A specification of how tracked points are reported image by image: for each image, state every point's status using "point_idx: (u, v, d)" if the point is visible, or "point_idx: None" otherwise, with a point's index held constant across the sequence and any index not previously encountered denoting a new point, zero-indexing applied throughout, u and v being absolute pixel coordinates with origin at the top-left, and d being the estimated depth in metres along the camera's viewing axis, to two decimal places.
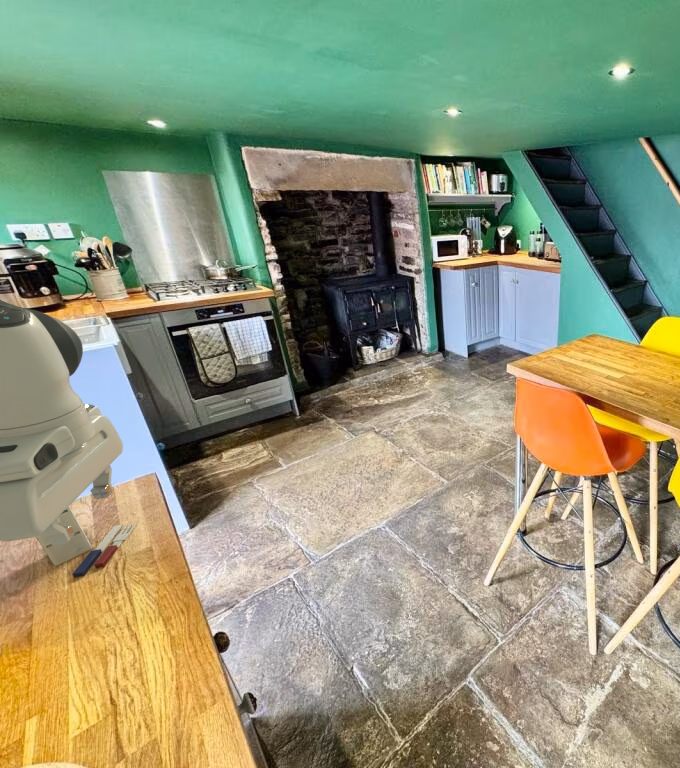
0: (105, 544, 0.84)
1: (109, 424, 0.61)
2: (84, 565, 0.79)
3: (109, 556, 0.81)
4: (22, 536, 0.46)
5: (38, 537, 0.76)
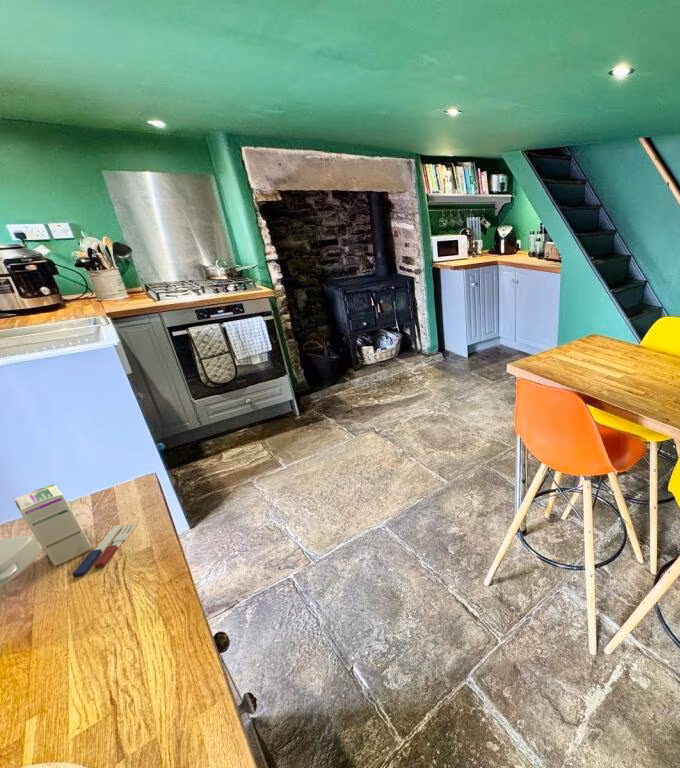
0: (105, 544, 0.84)
1: (9, 578, 0.60)
2: (84, 565, 0.79)
3: (109, 556, 0.81)
4: None
5: (38, 537, 0.76)
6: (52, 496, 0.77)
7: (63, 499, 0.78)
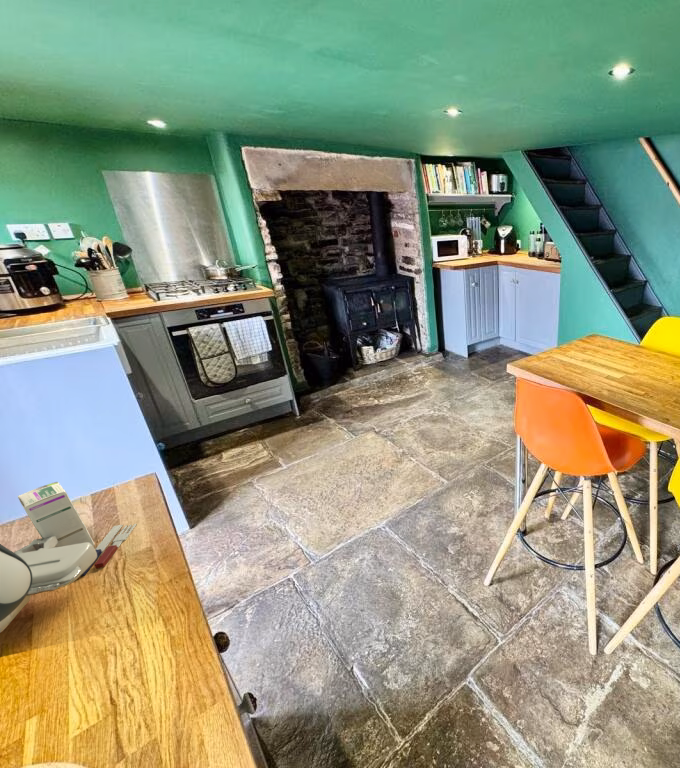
0: (105, 544, 0.84)
1: None
2: None
3: (109, 556, 0.81)
4: None
5: (42, 534, 0.77)
6: (55, 493, 0.78)
7: (66, 496, 0.79)
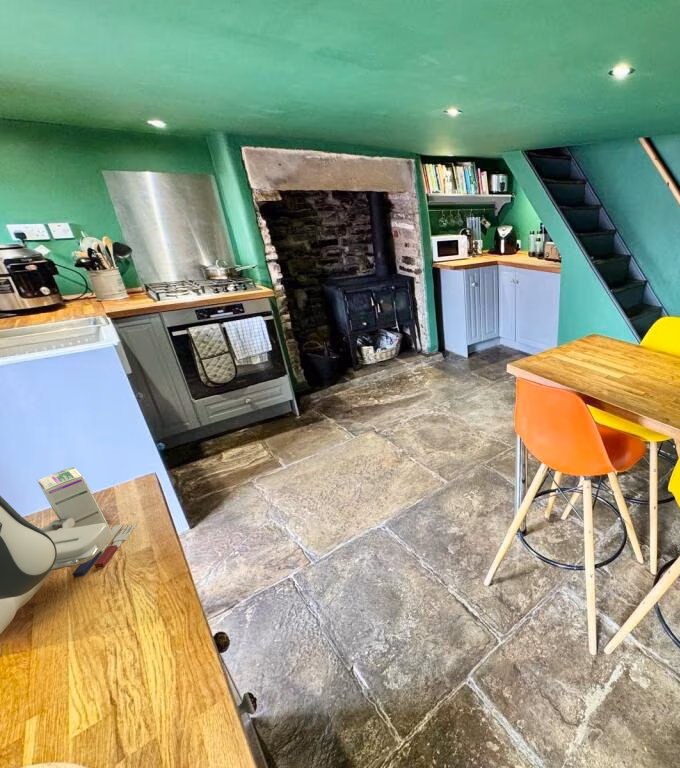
0: None
1: None
2: (84, 565, 0.79)
3: (109, 556, 0.81)
4: None
5: (60, 516, 0.81)
6: (73, 477, 0.82)
7: (83, 480, 0.83)
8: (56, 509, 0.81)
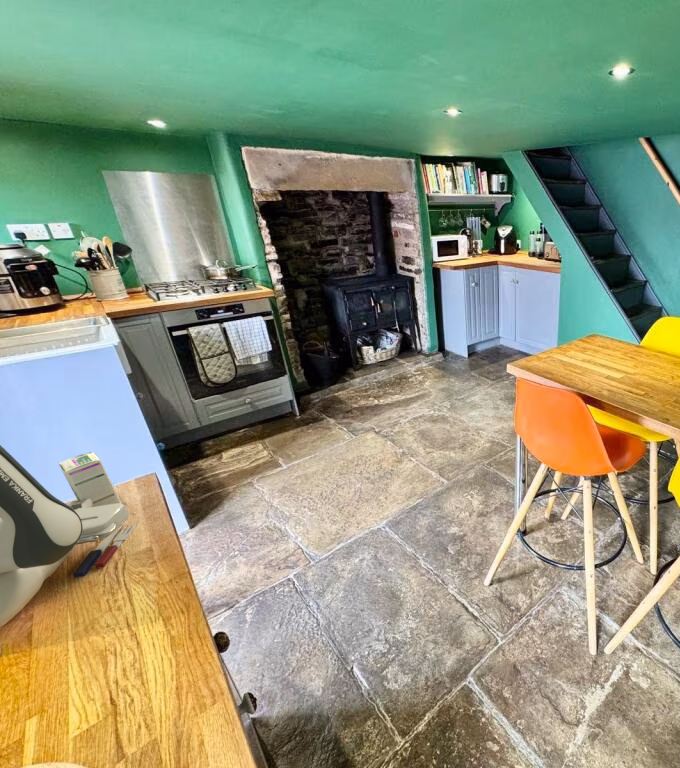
0: (105, 544, 0.84)
1: None
2: (84, 565, 0.79)
3: (109, 556, 0.81)
4: None
5: (79, 496, 0.87)
6: (91, 461, 0.87)
7: (100, 464, 0.88)
8: (75, 490, 0.86)
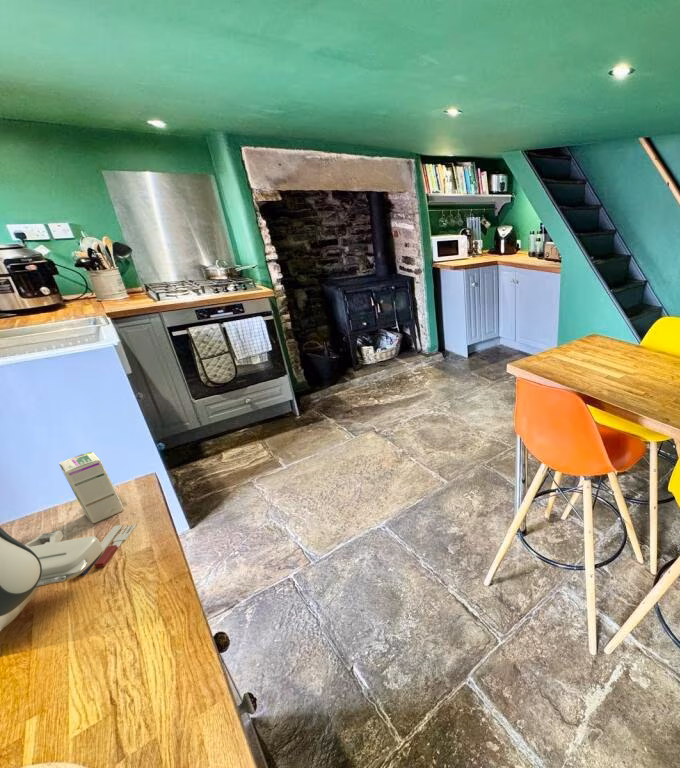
0: (105, 544, 0.84)
1: None
2: None
3: (109, 556, 0.81)
4: None
5: (79, 496, 0.87)
6: (91, 461, 0.87)
7: (100, 464, 0.88)
8: (75, 490, 0.86)
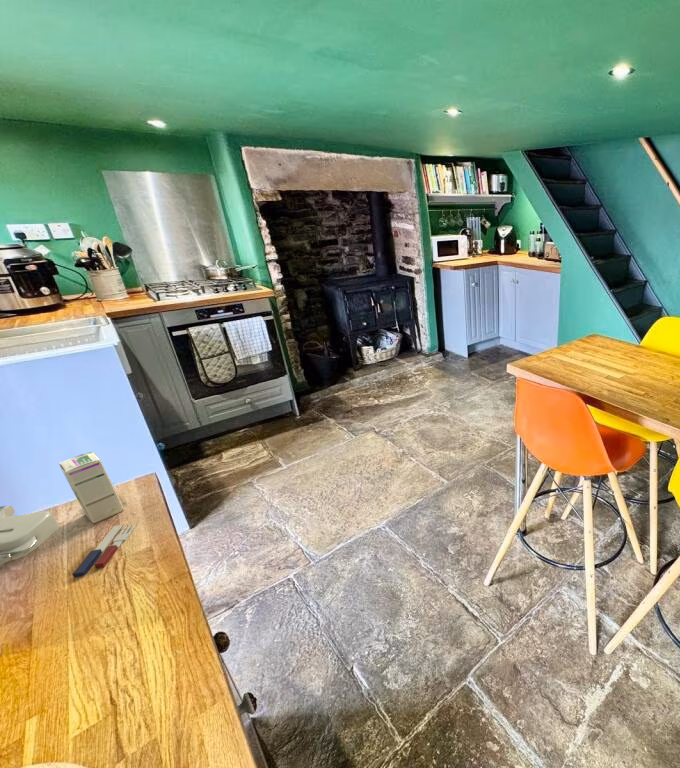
0: (105, 544, 0.84)
1: (29, 550, 0.64)
2: (84, 565, 0.79)
3: (109, 556, 0.81)
4: None
5: (79, 496, 0.87)
6: (91, 461, 0.87)
7: (100, 464, 0.88)
8: (75, 490, 0.86)
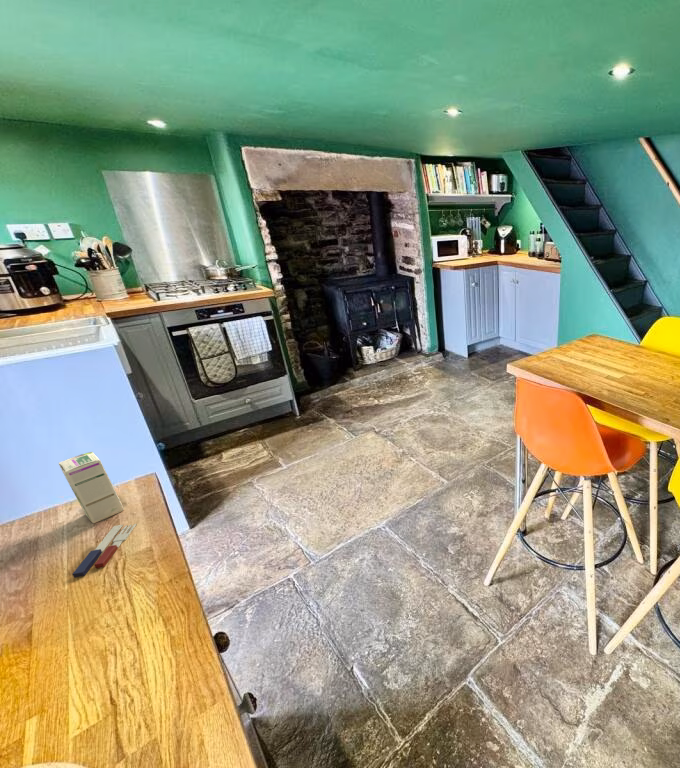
0: (105, 544, 0.84)
1: None
2: (84, 565, 0.79)
3: (109, 556, 0.81)
4: None
5: (79, 496, 0.87)
6: (91, 461, 0.87)
7: (100, 464, 0.88)
8: (75, 490, 0.86)
